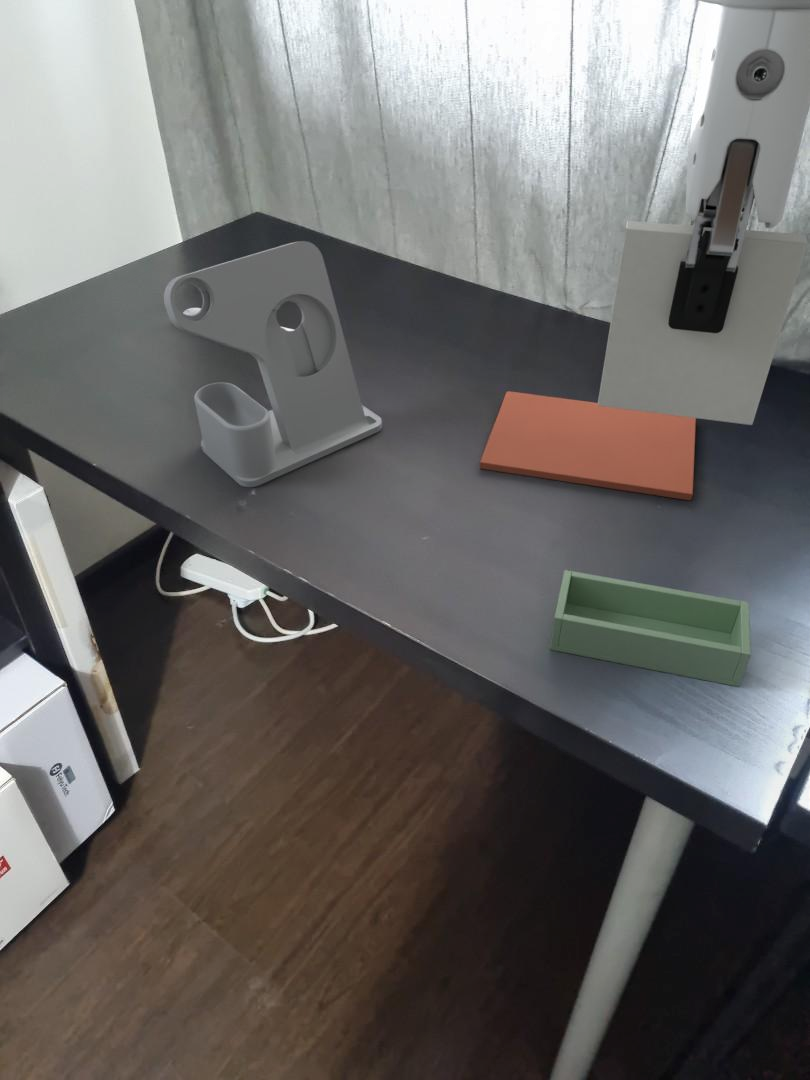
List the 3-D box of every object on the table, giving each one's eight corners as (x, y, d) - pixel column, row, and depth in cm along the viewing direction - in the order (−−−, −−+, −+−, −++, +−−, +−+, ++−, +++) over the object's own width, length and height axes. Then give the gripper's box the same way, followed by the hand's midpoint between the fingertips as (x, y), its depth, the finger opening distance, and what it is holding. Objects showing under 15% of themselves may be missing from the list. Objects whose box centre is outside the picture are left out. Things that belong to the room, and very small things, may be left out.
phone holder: (243, 492, 78) (211, 315, 67) (192, 446, 85) (155, 276, 73) (387, 427, 87) (381, 259, 75) (331, 390, 93) (318, 229, 81)
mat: (694, 422, 87) (696, 415, 86) (691, 501, 76) (692, 494, 76) (506, 397, 91) (506, 390, 90) (479, 468, 81) (479, 462, 80)
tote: (737, 634, 64) (749, 602, 61) (738, 687, 60) (751, 654, 57) (559, 601, 67) (564, 569, 64) (549, 649, 63) (554, 617, 61)
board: (751, 414, 55) (805, 234, 47) (752, 425, 54) (808, 243, 46) (599, 395, 57) (627, 220, 49) (597, 406, 56) (625, 228, 48)
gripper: (889, -14, 33) (764, 391, 45) (841, -55, 44) (752, 277, 56) (694, -18, 34) (624, 374, 46) (696, -57, 46) (639, 267, 58)
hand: (694, 319), depth 51 cm, fingers closed on board, 1 cm apart
